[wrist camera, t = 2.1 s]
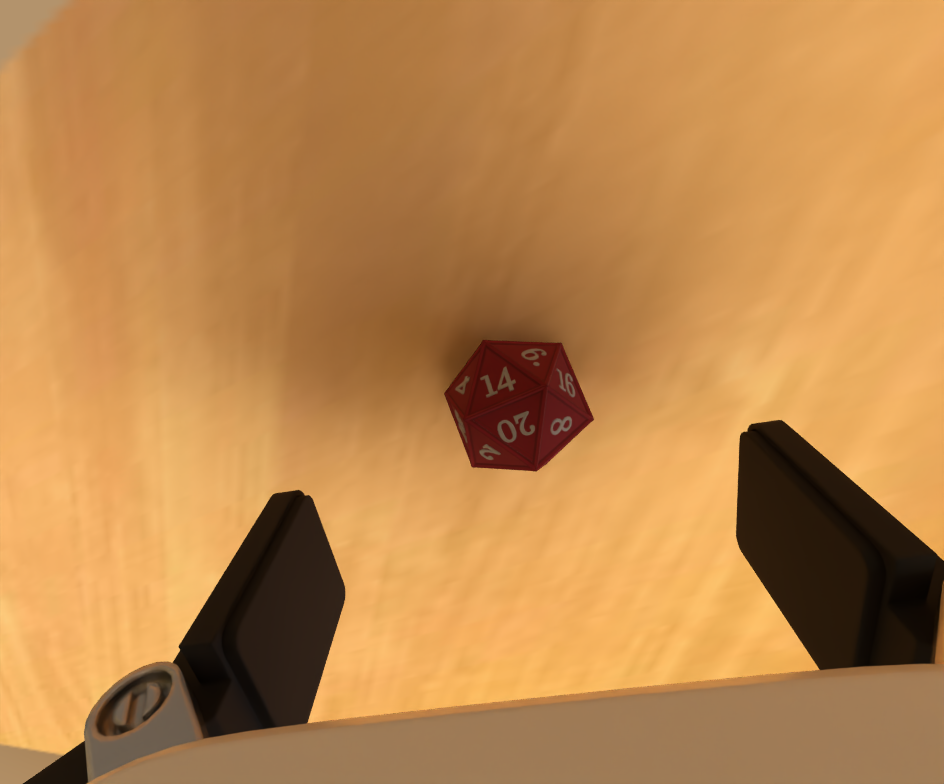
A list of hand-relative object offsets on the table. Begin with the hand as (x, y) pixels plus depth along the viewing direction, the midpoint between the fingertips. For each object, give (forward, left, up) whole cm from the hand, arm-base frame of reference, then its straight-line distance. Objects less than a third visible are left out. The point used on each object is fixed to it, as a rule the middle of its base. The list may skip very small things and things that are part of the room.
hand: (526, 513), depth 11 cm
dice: (0, 0, -7) cm, 7 cm away
